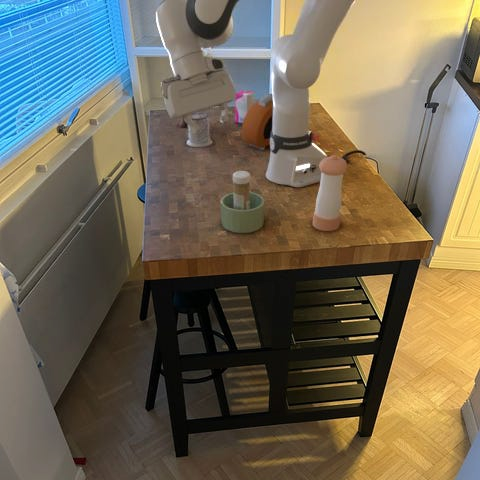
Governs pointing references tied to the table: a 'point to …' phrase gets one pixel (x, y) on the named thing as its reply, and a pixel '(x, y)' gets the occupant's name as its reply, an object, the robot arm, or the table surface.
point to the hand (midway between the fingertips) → (211, 127)
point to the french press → (199, 137)
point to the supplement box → (243, 104)
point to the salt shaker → (329, 194)
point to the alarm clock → (259, 123)
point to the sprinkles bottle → (241, 190)
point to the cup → (242, 214)
